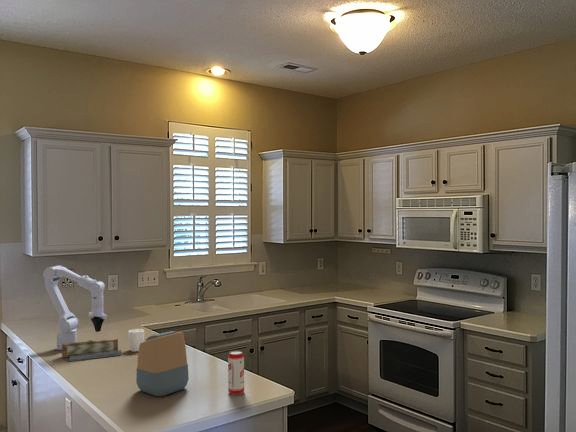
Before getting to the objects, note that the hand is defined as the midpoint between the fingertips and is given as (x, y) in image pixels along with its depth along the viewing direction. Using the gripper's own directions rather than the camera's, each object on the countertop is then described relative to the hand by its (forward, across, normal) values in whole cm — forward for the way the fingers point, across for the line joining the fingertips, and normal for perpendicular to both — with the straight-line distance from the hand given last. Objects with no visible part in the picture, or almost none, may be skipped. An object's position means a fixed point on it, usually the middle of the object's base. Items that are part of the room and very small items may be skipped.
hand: (98, 331), depth 272 cm
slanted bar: (+9, +12, -9) cm, 18 cm away
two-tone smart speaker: (+10, +76, -18) cm, 79 cm away
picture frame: (+9, +5, -8) cm, 13 cm away
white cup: (+10, +17, +11) cm, 23 cm away
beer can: (+10, +102, -3) cm, 102 cm away
